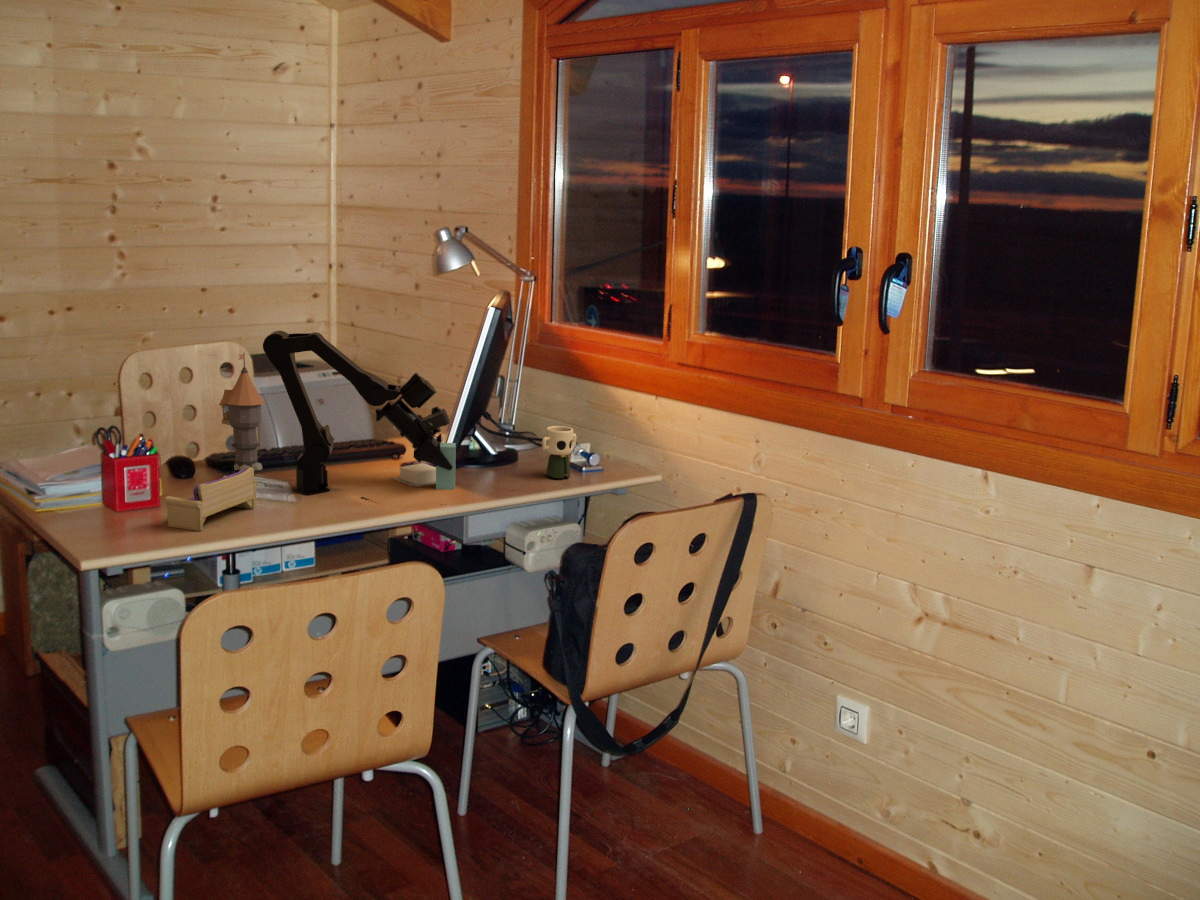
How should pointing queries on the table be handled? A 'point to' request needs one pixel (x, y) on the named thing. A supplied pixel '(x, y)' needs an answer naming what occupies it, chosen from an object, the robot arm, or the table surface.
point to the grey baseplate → (413, 483)
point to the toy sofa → (212, 500)
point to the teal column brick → (444, 476)
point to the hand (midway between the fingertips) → (451, 466)
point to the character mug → (558, 450)
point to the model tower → (243, 419)
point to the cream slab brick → (418, 473)
